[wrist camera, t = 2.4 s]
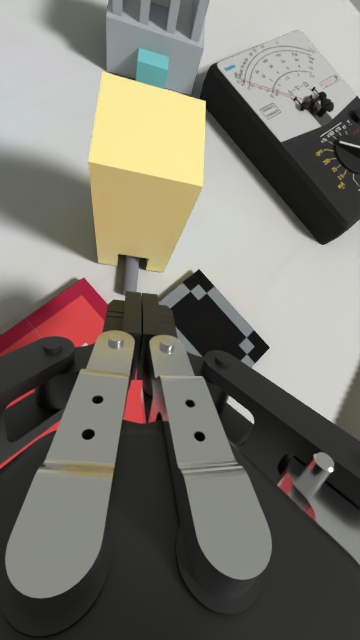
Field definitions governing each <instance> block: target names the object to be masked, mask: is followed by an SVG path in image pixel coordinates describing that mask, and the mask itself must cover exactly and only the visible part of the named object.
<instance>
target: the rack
mask: <svg viewBox="0 0 360 640" xmlns="http://www.w3.org/2000/svg"><path fill="white" fill-rule="evenodd" d="M208 4H209V0H109V1H108V7H107V13H106V54H107V71H108V72H112V73H115V74H119V75H122V76H126V77H129V78H132V79H136V72H137V60H138V52H139V48H141V49H145V50H148V51H151V52H154V53H157V54H160V55H164V56H167V57H169V63H168V72H167V78H166V83H165V88H167V89H170V90H174V91H177V92H181V93H184V94H188V95H191V93H192V89H193V85H194V82H195V78H196V74H197V71H198V67H199V64H200V60H201V56H202V53H203V49H204V27H205V16H206V12H207V8H208Z"/></svg>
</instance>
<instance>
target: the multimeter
mask: <svg viewBox="0 0 360 640" xmlns="http://www.w3.org/2000/svg"><path fill="white" fill-rule="evenodd" d="M200 99H201V100H203V101H206V108H207V109H208V110H209V112H210V113H211V114H212V115H213V116H214V118H215V119H216V120H217V121H218V122H219V124H220V125H221V126H222V127H223V128H224V129H225V131H226V132H227V133H228V134H229V135H230V137H231V138H232V139H233V140H234V141H235V143H236V144H237V145H238V146H239V147H240V149H241V150H242V151H243V152H244V153H245V155H246V156H247V157H248V158H249V159H250V160H251V162H252V163H253V164H254V165H255V166H256V168H257V169H258V170H259V171H260V172H261V174H262V175H263V176H264V177H265V178H266V180H267V181H268V182H269V183H270V184H271V186H272V187H273V188H274V189H275V190H276V192H277V193H278V194H279V195H280V196H281V197H282V199H283V200H284V201H285V202H286V203H287V205H288V206H289V207H290V208H291V209H292V211H293V212H294V213H295V214H296V215H297V217H298V218H299V219H300V220H301V221H302V223H303V224H304V225H305V226H306V227H307V229H308V230H309V231H310V232H311V233H312V234H313V236H314V237H315V238H316V239H317V240H318V242H319V243H321V244H322V245H324V244H327V243H329V242H331V241H332V240H334V239H336V238H338V237H339V236H340V235H342V234H343V233H344V232H345V231H347V230H348V229H349V228H350V227H351V226H353V225H354V224H355V223H356V222H357V221H358V220H359V219H360V99H359V97H358V96H357V95H356V94H355V93H354V91H353V90H352V89H351V88H350V87H349V86H348V84H347V83H346V82H345V81H344V80H343V79H342V78H341V76H340V75H339V74H338V73H337V72H336V71H335V69H334V68H333V67H332V66H331V65H330V64H329V62H328V61H327V60H326V59H325V58H324V57H323V55H322V54H321V53H320V52H319V51H318V50H317V48H316V47H315V46H314V45H313V44H312V43H311V41H310V40H309V39H308V38H307V37H306V36H305V34H304V33H303V32H301V31H300V30H295V31H293V32H291V33H288V34H286V35H283V36H281V37H278V38H276V39H273V40H271V41H269V42H266V43H264V44H261V45H259V46H256V47H254V48H252V49H249V50H247V51H244V52H242V53H239V54H237V55H235V56H232V57H230V58H227V59H225V60H222V61H220V62H217V63H215V64H213V65H211V66H210V68H209V70H208V73H207V75H206V78H205V80H204V83H203V87H202V92H201V96H200Z"/></svg>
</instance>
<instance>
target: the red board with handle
mask: <svg viewBox="0 0 360 640" xmlns="http://www.w3.org/2000/svg"><path fill="white" fill-rule="evenodd" d="M158 303H159V305H166V306H168V307H169V308H170V309H171V310H172V312H173V317H174V322H175V323H174V324H175V327H176V332H177V337H178V339H179V340H180V341H181V342H182V343H183V344H184V346H185V349H186V351H187V352H189V353H191V354H194V355H197V356H200V357H203V358H204V357H205V354H206V353H207V352H209V351H212V350H220V351H224V352H227V353H229V354H231V355H233V356H234V357H236V358H237V359H239V360H240V361H242V362H243V363H245V364H246V365H248V366H249V367H250V368H251V367H252V366H253V365H254V364H255V363H256V362H257V361H258V360H259V359H260V358H261V356H262V355H263V354H264V353H265V352H266V351H267V350H268V349H269V348H270V347H269V346H268V345H267V344H266V343H265V342H264V341H263V340H262V338H261V337H260V336H259V335H258V334H257V333H256V332H255V331H254V330H253V328H252V327H251V326H250V325H249V324H248V323H247V322H246V321H245V320H244V318H243V317H242V316H241V315H240V314H239V313H238V312H237V311H236V310H235V308H234V307H233V306H232V305H231V304H230V303H229V302H228V301H227V300H226V298H225V297H224V296H223V295H222V294H221V293H220V292H219V291H218V290H217V288H216V287H215V286H214V285H213V284H212V283H211V282H210V281H209V280H208V278H207V277H206V276H205V275H204V274H203V273H202V272H201V271H200V270H197V271H196V272H195V273H194V274H193V275H191V276H190V277H189V278H188V279H186V280H185V281H184V282H183V283H182V284H180V285H179V286H178V287H177V288H175V289H174V290H173V291H172V292H171V293H169V294H168V295H167V296H166V297H164V298H163V299H162V300H161V301H159V302H158ZM107 307H108V304H107V303H106V302H105V301H104V300H103V299H102V298H101V296H100V295H99V294H98V293H97V292H96V291H95V290H94V288H93V287H92V286H91V285H90V284H89V283H88V282H87V281H86V279H85V278H82V279H81V280H80V281H78V282H77V283H75V284H74V285H72V286H71V287H70V288H68V289H67V290H65V291H64V292H62V293H61V294H60V295H58V296H57V297H55V298H54V299H52V300H51V301H50V302H48V303H47V304H45V305H44V306H42V307H41V308H39V309H38V310H37V311H35V312H34V313H32V314H31V315H29V316H28V317H27V318H25V319H24V320H22V321H21V322H19V323H18V324H17V325H15V326H14V327H12V328H11V329H9V330H8V331H7V332H5V333H4V334H2V335H1V336H0V356H3V355H5V354H7V353H9V352H12V351H14V350H16V349H18V348H21V347H23V346H25V345H27V344H30V343H32V342H34V341H36V340H39V339H41V338H44V337H49V336H60V337H65V338H67V339H69V340H71V341H72V342H73V343H74V346H75V347H81V346H87V345H90V344H93V343H95V342H96V340H97V338H98V336H99V335H100V334H102V331H103V326H104V321H105V317H106V312H107ZM136 372H137V368H136ZM141 390H142V380H136V375H135V380H131V386H130V389H129V390H128V396H127V402H126V409H125V415H124V420H128V421H132V422H136V423H141V424H143V413H142V404H141ZM33 392H34V389H33V390H31V391H29V392H27V393H26V394H24V395H22V396H21V397H19V398H17V399H16V400H14V401H12V402H11V403H10V404H9V405H8V406H7V407H6V408H8V407H10V406H11V405H13V404H15V403H16V402H18V401H20V400H21V399H23V398H25V397H26V396H28V395H30V394H31V393H33ZM60 421H61V420H60ZM60 421H58V422H57V423H56V424H54V425H53V426H52V427H50V428H49V429H48V430H46V431H45V432H44V433H42V434H41V435H40V436H38V437H37V438H36V439H34V440H33V441H32V442H30V443H29V444H28V445H26V446H25V447H24V448H22V449H21V450H20V451H18V452H17V453H16V454H14V455H13V456H12V457H10V458H9V459H8V460H6V461H5V462H3V463H2V464H1V465H0V469H1V468H2V467H3V466H4V465H6V464H7V463H8V462H9V461H11V460H12V459H13V458H14V457H16V456H17V455H18V454H19V453H21V452H22V451H23V450H24V449H26V448H27V447H28V446H30V445H31V444H32V443H33V442H35V441H36V440H38V439H39V438H41V437H43V436H44V435H46V434H48V433H50V432H53V431H55V430H57V429H58V426H59V424H60Z"/></svg>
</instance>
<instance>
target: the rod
mask: <svg viewBox="0 0 360 640" xmlns="http://www.w3.org/2000/svg"><path fill="white" fill-rule="evenodd" d="M168 63H169V57H167V56H164V55H160V54H157V53H154V52H151V51H148V50H145V49H141V48H139V52H138V60H137V72H136V81H137V82H141V83H144V84H148V85H151V86H155V87H158V88H162V89H165V83H166V78H167V72H168ZM138 268H139V257H135V256H129V255H126V264H125V273H124V282H123V292H122V294H123V295H126V291H131V292H136V289H137V278H138Z"/></svg>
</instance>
